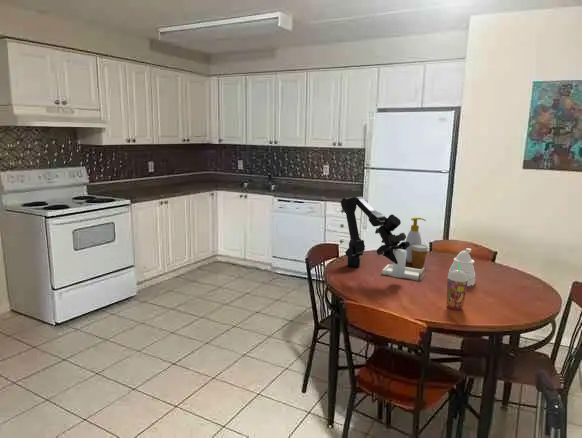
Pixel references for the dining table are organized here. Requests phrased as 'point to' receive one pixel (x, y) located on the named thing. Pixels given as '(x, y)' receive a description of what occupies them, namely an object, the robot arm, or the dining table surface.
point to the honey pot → (465, 265)
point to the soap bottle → (413, 239)
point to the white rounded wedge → (399, 263)
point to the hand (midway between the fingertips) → (401, 262)
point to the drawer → (406, 272)
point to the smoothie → (456, 289)
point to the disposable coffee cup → (418, 255)
